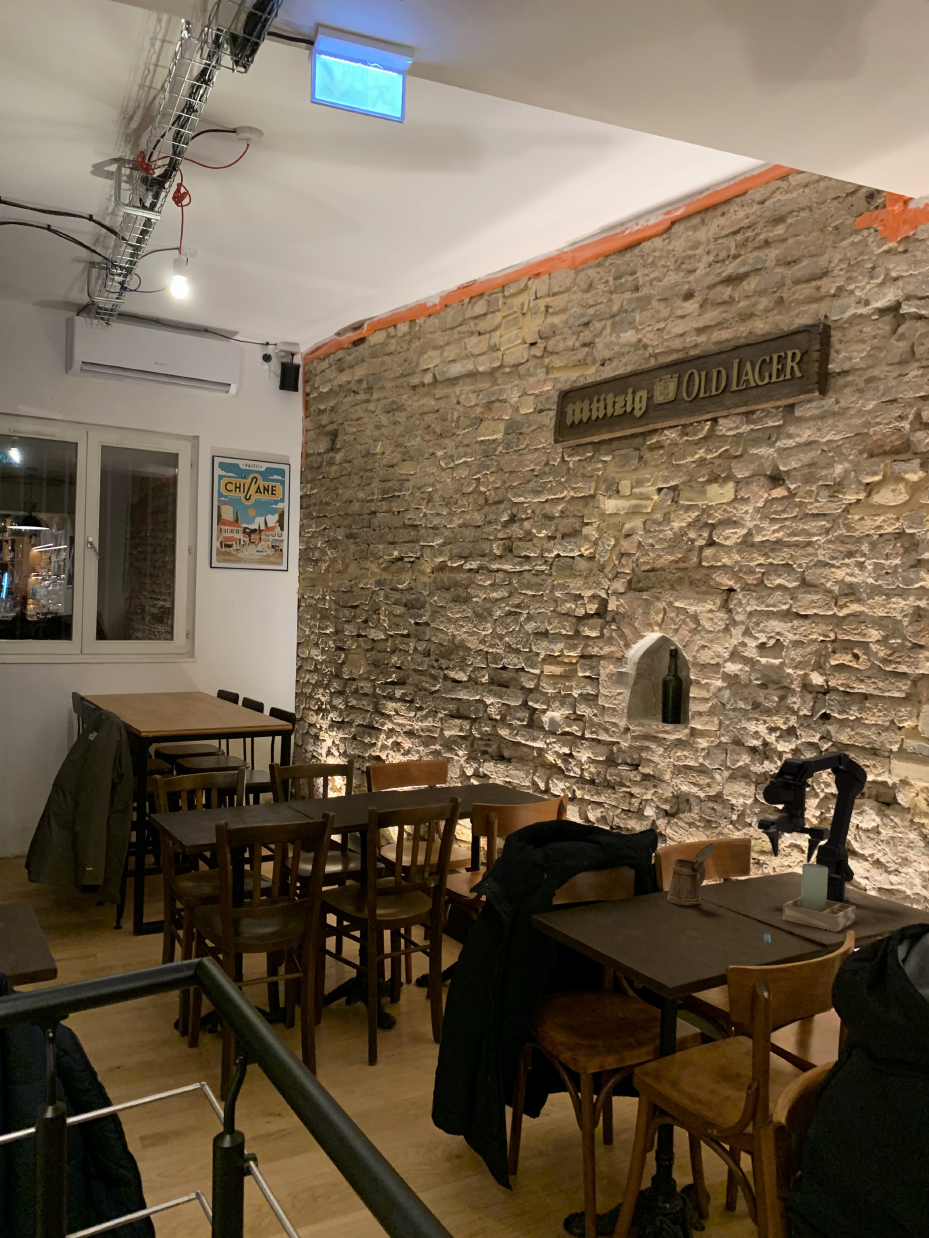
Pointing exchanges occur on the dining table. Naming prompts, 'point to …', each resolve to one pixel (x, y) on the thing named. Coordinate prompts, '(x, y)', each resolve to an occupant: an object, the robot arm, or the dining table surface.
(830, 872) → the robot arm
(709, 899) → the dining table surface
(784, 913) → the tray
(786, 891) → the dining table surface
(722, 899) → the dining table surface
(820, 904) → the pale green cylinder
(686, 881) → the wooden mug
